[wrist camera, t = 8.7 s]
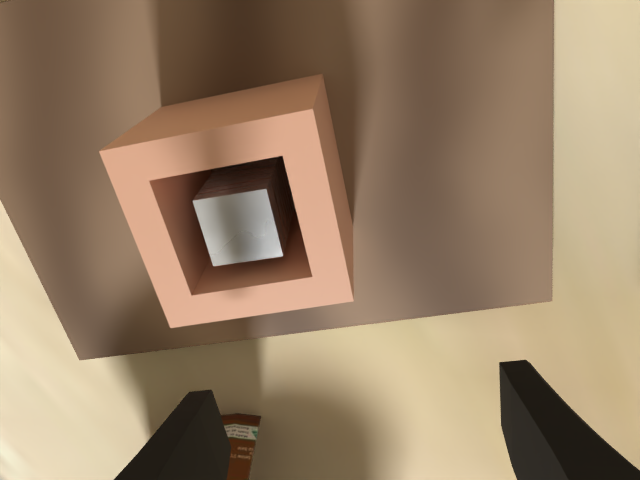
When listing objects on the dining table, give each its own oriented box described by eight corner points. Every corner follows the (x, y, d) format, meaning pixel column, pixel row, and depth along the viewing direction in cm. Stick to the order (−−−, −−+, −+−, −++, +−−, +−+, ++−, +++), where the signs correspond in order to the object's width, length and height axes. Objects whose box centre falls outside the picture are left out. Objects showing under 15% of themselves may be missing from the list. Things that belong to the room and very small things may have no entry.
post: (284, 141, 18) (266, 188, 14) (297, 197, 19) (283, 256, 15) (226, 151, 19) (192, 200, 15) (241, 205, 19) (213, 266, 15)
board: (537, -114, 16) (554, -122, 15) (539, 281, 22) (552, 301, 21) (-56, 18, 18) (-88, 22, 17) (94, 339, 25) (79, 360, 23)
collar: (322, 73, 17) (312, 108, 13) (352, 226, 20) (353, 301, 15) (161, 107, 18) (99, 151, 13) (209, 250, 20) (170, 327, 16)
